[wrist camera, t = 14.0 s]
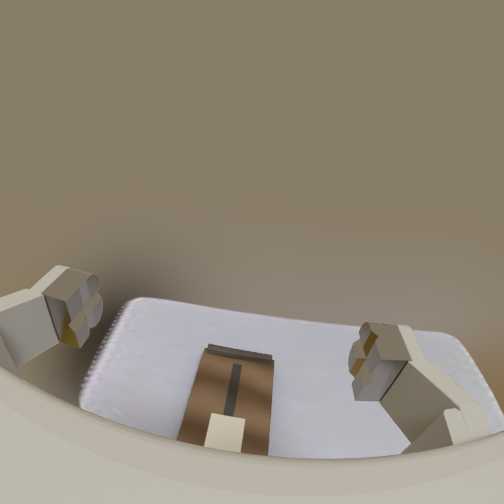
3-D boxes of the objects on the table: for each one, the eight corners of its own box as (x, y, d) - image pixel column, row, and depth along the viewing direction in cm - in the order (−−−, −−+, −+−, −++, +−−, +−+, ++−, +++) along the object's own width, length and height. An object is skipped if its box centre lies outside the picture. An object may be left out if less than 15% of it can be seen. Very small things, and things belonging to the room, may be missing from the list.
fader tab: (242, 509, 20) (265, 477, 14) (180, 498, 20) (171, 459, 14) (248, 461, 25) (271, 406, 20) (192, 451, 25) (191, 391, 20)
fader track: (254, 556, 16) (259, 556, 15) (152, 538, 16) (147, 536, 15) (271, 368, 41) (275, 355, 40) (204, 356, 41) (205, 342, 40)
